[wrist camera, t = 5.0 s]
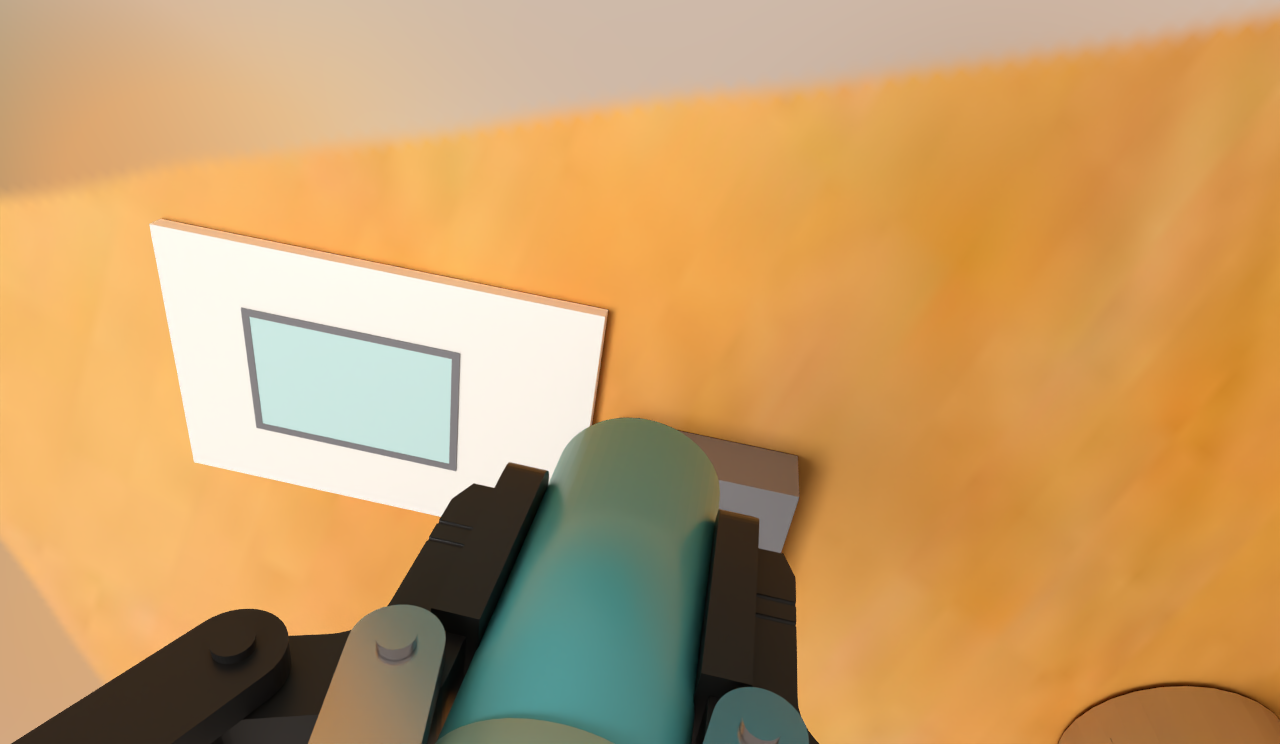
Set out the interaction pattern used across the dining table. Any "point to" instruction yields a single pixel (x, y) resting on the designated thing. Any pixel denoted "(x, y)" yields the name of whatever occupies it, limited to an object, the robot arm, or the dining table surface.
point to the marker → (600, 600)
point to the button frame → (755, 485)
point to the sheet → (368, 369)
